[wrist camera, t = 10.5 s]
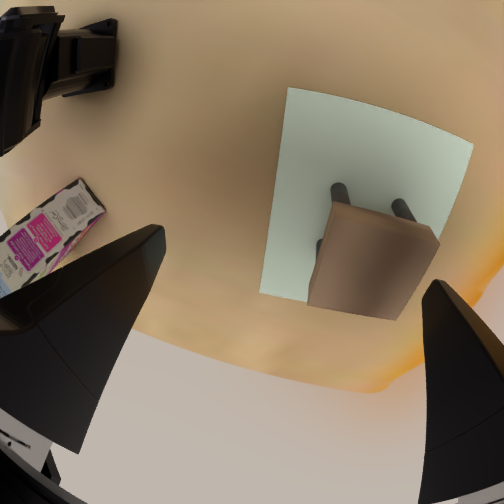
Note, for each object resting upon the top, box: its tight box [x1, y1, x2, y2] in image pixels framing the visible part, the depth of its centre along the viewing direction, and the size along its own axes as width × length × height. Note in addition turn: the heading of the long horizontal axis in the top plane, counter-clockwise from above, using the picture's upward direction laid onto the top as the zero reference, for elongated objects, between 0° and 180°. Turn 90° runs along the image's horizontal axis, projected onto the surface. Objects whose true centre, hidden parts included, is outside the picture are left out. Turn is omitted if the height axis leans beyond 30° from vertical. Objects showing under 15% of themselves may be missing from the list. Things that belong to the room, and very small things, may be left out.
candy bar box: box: [0, 178, 105, 298], centre depth 20 cm, size 11×5×16 cm, turn 125°
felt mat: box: [259, 87, 474, 302], centre depth 20 cm, size 14×18×1 cm
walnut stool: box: [307, 182, 440, 321], centre depth 17 cm, size 6×6×6 cm
